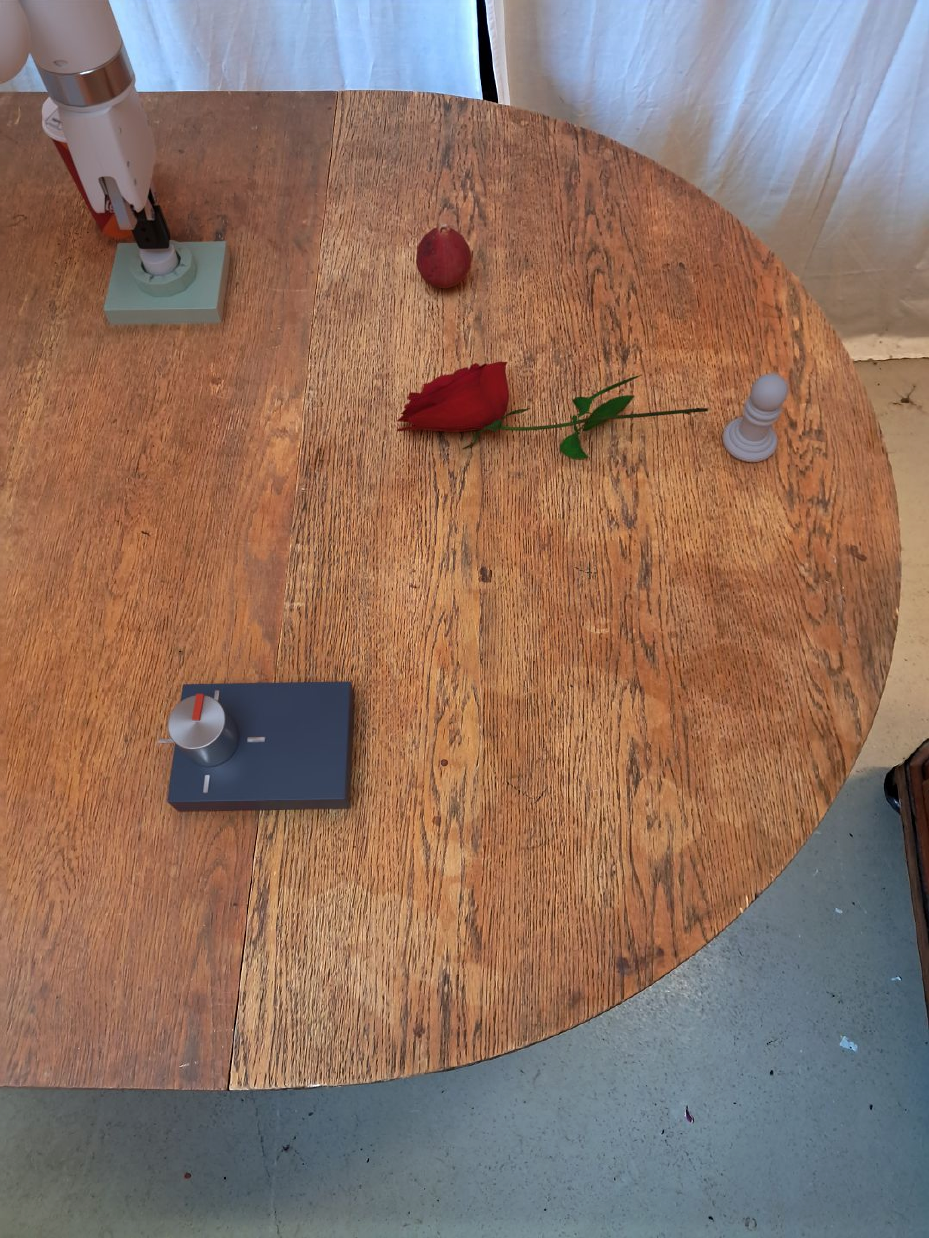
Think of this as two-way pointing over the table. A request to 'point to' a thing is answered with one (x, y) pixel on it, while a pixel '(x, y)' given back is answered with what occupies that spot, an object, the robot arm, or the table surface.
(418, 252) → the red round fruit
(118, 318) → the push button box
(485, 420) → the flower
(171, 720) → the dial
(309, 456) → the table surface
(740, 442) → the chess piece
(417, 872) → the table surface
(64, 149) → the paper cup
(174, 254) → the white push button
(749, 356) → the table surface
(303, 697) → the dial panel
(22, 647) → the table surface
